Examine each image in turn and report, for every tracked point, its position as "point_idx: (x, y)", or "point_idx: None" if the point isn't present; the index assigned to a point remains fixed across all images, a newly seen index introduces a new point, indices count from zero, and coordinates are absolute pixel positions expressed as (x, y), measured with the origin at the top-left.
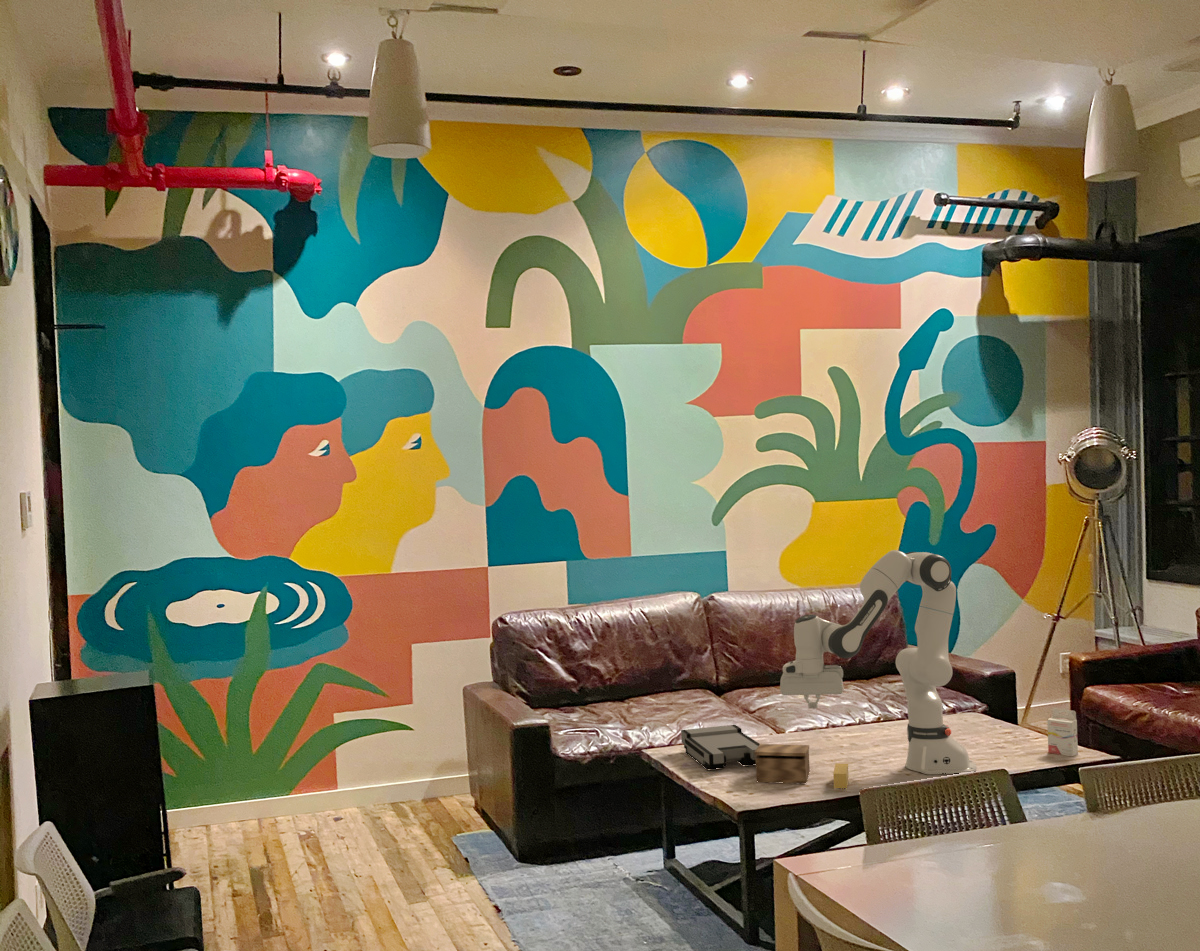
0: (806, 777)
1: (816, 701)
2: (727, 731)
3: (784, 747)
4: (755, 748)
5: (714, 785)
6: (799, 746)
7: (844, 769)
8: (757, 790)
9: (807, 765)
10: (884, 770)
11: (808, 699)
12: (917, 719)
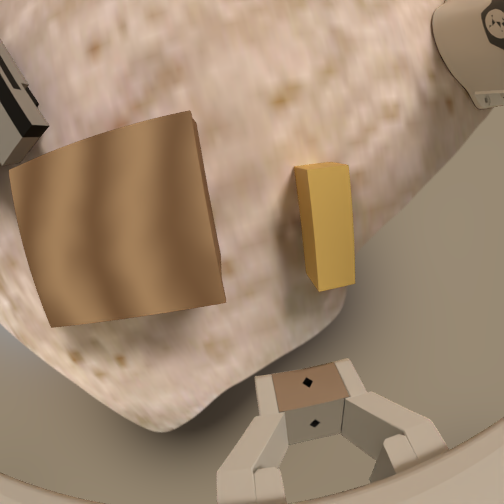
0: (217, 243)
1: (361, 442)
2: None
3: (102, 205)
4: (3, 141)
5: (28, 322)
6: (155, 157)
7: (346, 238)
8: (121, 338)
9: (206, 196)
10: (401, 70)
11: (270, 457)
12: None
